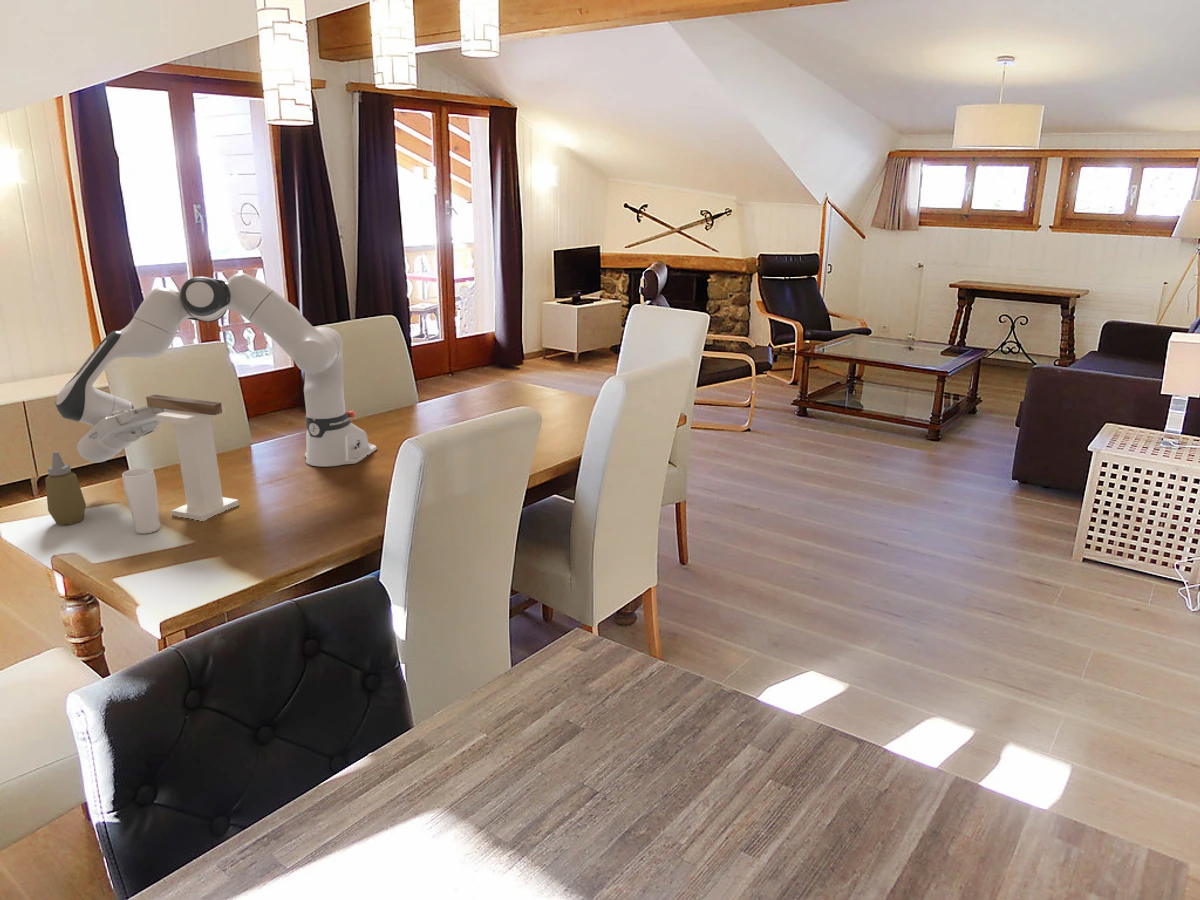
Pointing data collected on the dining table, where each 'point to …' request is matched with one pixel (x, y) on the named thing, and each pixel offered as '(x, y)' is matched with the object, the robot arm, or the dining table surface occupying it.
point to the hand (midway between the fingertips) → (150, 407)
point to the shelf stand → (197, 465)
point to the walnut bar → (184, 404)
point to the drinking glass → (142, 499)
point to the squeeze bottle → (64, 493)
